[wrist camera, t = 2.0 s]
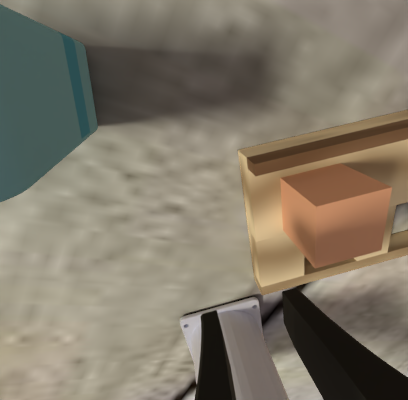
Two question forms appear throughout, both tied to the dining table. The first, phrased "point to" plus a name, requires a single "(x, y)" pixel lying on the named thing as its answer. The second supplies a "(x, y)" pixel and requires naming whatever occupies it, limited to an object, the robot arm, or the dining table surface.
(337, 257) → the block
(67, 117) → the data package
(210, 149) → the dining table surface
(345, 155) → the trap board
